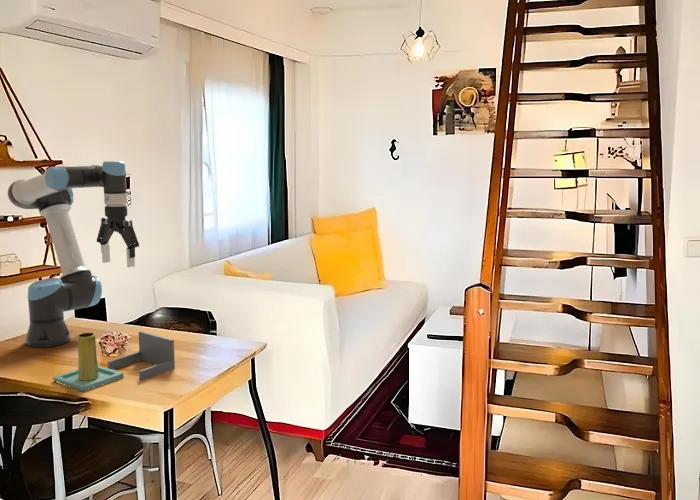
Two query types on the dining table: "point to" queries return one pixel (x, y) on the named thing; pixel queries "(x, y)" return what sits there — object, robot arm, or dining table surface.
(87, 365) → the vase
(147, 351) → the dock
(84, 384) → the tray
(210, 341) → the dining table surface
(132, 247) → the robot arm
